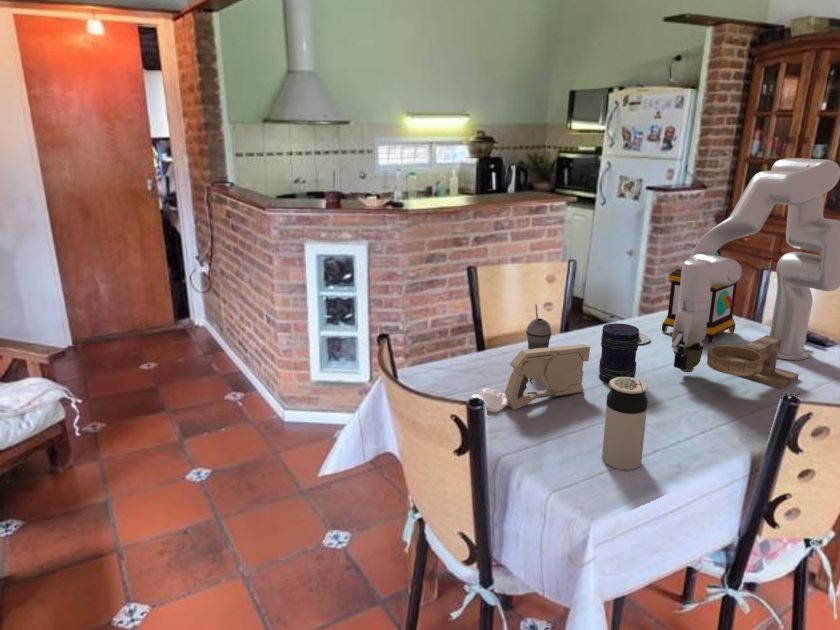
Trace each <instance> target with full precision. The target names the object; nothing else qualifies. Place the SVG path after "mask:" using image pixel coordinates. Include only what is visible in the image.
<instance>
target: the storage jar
mask: <svg viewBox="0 0 840 630" xmlns="http://www.w3.org/2000/svg"><path fill="white" fill-rule="evenodd" d="M609 318H610V319H614V318H615V316H614V315H609ZM639 333H640V328H638V327H636V326H634V325H632V324H627V323H619V322H618V323H617V322H616V323H615V322H614V323H607V324H604V325H603V326H602V332H601V340H600V341H601V342H600V347H601V356H600V359H599V364H598V366H599V367H598V371H599V374H598V378H599V381H601V382H603V383H604V384H608V385H610V384H609V382H610V380H612V379H614V378H617V377H631V378H635V376H636V374H637V373H636V371H637V361H636V359H637V358H636V357H637V351H638V348H639V344H638V343H640V340H639V339H638V337H639V335H638V334H639Z"/></svg>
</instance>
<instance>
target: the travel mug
mask: <svg viewBox="0 0 840 630" xmlns="http://www.w3.org/2000/svg"><path fill="white" fill-rule="evenodd" d="M608 385H609V387H610V391H609V392H608V393H607V395H606V403H605V405H606V406H605V416H604V417H605V418H604V427H603V428H604V429H603V439H602V441H603V442H602V454H601V456H602V457H601V458H602V461H603V462H604V463H605V464H607V465H609V467H612V468H615V469H618V470H624V471H625V470H627V471H628V470H635V469H637V468H639V467H640V466H641V465H642V460H643V458H642V457H643V451H644V439H645V431H646V421H647V411H648V402H649V401H648V398H647V395H646V391H647V390H648V388H649V387H648V383H646V382H645V381H644V380H642V379H638V378H636V377H634V378H631V377H617V378H614V379H612V380H610V382H609V384H608Z"/></svg>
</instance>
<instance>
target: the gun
mask: <svg viewBox="0 0 840 630" xmlns="http://www.w3.org/2000/svg"><path fill="white" fill-rule="evenodd" d="M590 351H591V346H589V345H587V344H585V343H582V344H573V345H572V344H571V345H564V346H556V347H555V346H554V347H549V346H548V347H547V348H538V349H529V350H528V349H522V350H520V351H519V352H518V353H517V355H516V356H515V357H514V358H513V359H512V360H511V361H510V363H509V365H510V367H512V369H513V370H512V372H511V374H510V376H509V378H508V382H507V385H506V389H505V390H504V394H505V398H506V399H507V400H508V402H509V403H508V405H507V406H508V407H510V408H511V409H512V410H514V411H515V410H517V409H520V408H521V407H524V406H526V405H528V404H530V403H531V402H532V401H535V400H537V399H540V398H548V397H562V396H567V395H574V394H579V393H583V392H585V390H584V387H583V377H584V371H583V368H584V362H589V359H590V353H591V352H590ZM535 378H536V379H537V378H541V379H542V381H543V383H544V384H545V386H546V387H547V389H544V390H543V389H542V390H538V391H537V390H536V391H535V390H533V391H528V392H526V389H527V388H528V386H527V384H528V383H529V382H530V384H534V383H533V381H532V380H533V379H535Z"/></svg>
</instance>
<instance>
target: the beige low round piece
mask: <svg viewBox="0 0 840 630" xmlns="http://www.w3.org/2000/svg"><path fill="white" fill-rule="evenodd" d="M638 335H639V337H638V339H639V341H641V340H643V341H641V342H638V345H643V344H648V343H650V342H651V338H650V336H648V335H647V334H644V333H641V332H639V334H638Z"/></svg>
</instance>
